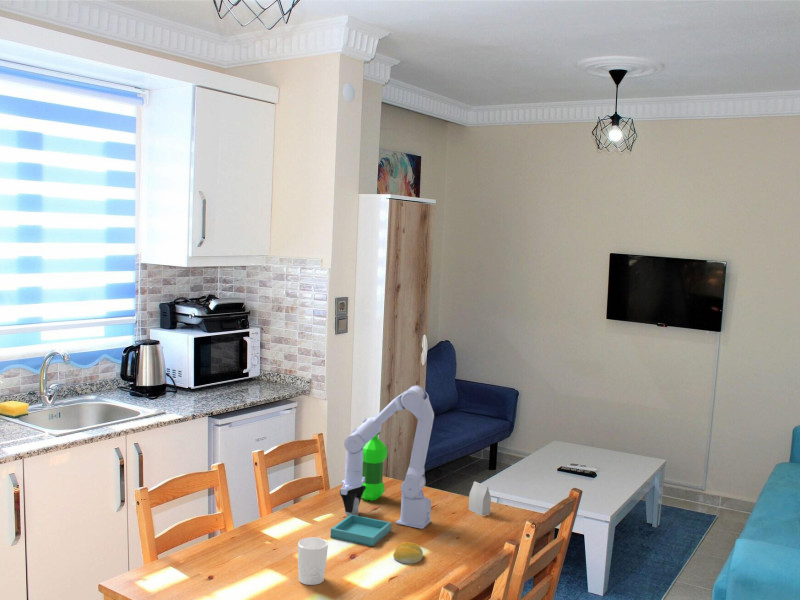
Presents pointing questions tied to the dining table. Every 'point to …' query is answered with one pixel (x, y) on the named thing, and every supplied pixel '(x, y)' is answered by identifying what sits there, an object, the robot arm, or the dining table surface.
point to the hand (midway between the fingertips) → (351, 509)
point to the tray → (361, 530)
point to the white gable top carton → (479, 499)
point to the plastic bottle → (373, 468)
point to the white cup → (312, 560)
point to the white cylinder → (354, 508)
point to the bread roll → (408, 553)
